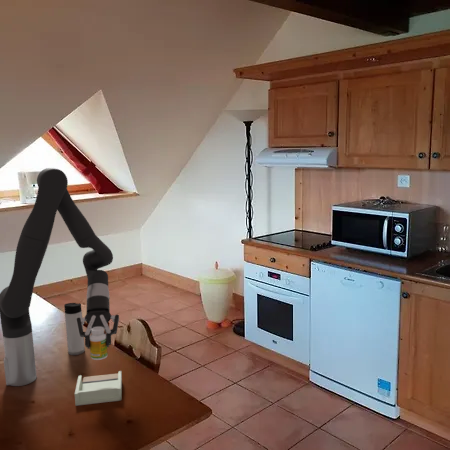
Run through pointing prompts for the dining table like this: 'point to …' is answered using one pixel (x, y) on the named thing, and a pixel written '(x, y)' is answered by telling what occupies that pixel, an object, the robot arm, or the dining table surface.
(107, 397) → the tray
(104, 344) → the supplement bottle
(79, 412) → the dining table surface
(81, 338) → the travel mug
